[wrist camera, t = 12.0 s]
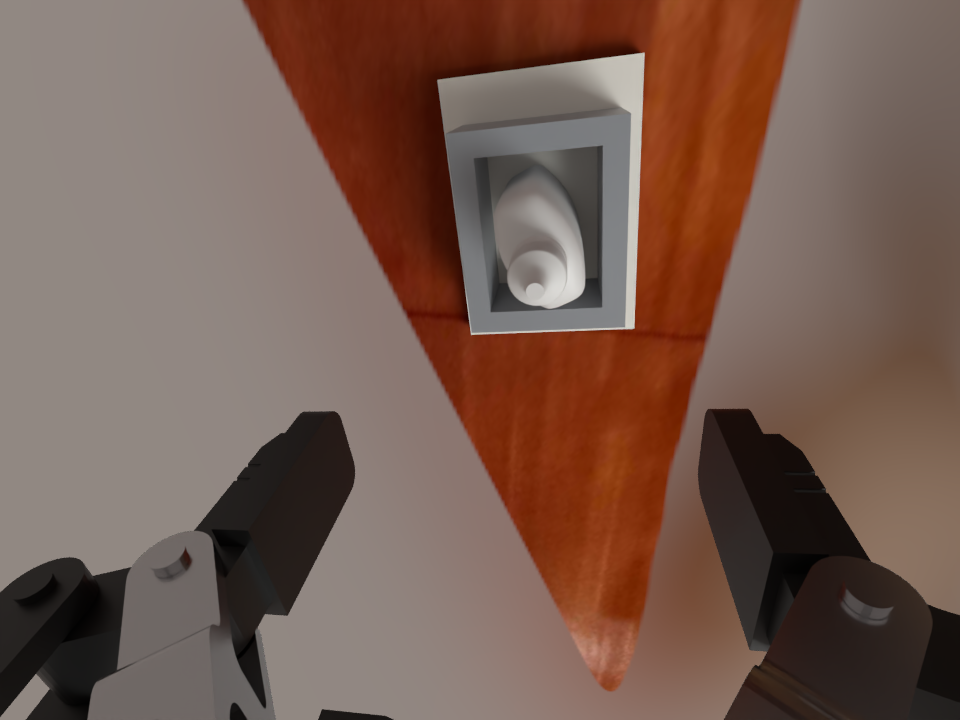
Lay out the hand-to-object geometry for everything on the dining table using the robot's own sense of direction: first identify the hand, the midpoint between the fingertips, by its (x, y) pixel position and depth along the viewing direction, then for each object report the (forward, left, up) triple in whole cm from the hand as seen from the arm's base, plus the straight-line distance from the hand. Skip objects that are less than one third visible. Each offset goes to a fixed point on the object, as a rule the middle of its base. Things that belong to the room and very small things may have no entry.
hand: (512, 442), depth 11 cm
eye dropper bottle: (0, 0, -21) cm, 21 cm away
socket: (0, 0, -22) cm, 22 cm away
